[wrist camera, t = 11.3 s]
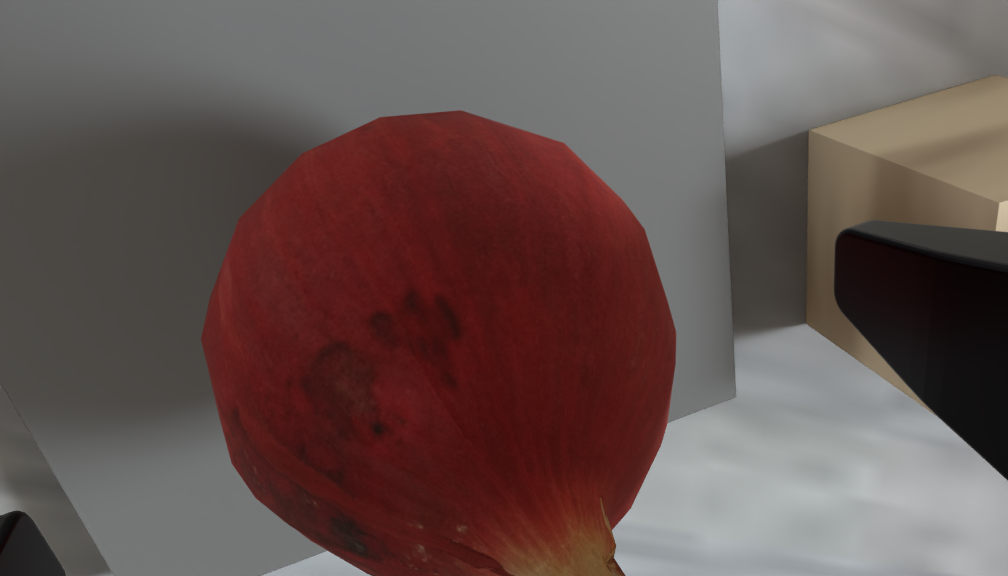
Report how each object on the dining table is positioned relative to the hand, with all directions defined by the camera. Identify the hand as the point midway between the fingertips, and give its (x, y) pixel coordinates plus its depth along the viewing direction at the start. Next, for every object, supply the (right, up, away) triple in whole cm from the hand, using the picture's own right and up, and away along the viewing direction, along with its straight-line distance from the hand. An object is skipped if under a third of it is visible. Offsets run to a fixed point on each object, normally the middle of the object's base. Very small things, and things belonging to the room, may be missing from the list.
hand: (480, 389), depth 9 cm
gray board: (-2, +3, +6) cm, 7 cm away
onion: (-2, +2, +5) cm, 6 cm away
